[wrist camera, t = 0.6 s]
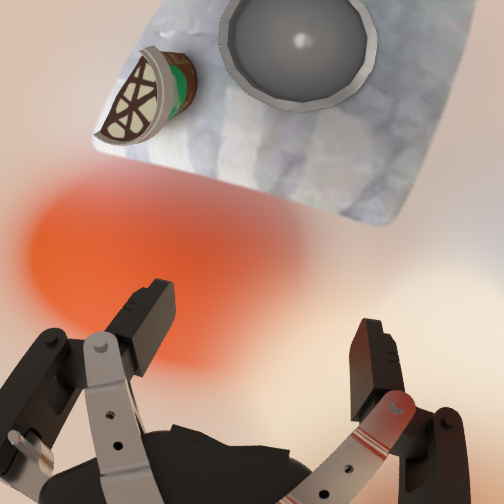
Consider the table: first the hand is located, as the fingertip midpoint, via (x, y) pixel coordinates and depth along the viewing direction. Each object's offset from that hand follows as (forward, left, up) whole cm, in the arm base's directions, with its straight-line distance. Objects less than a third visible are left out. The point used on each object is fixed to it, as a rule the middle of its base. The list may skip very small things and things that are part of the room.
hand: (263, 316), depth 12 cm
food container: (-10, -15, -27) cm, 32 cm away
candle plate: (-12, +1, -27) cm, 29 cm away
